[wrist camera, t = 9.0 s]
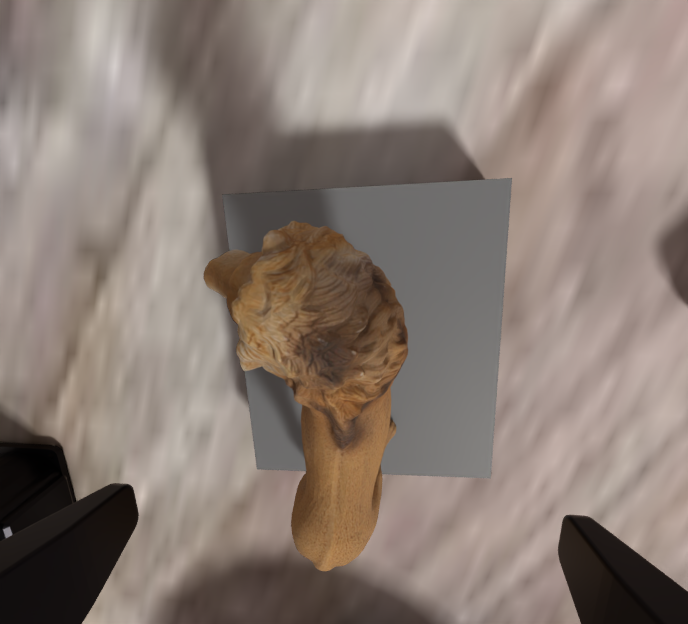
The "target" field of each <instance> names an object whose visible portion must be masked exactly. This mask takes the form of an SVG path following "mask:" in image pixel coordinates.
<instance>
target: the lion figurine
mask: <svg viewBox="0 0 688 624" xmlns="http://www.w3.org/2000/svg"><path fill="white" fill-rule="evenodd" d="M204 280H205V282H206V284H207V286H208V287H209V288H210V289H212V290H214V291H216V292H218V293H219V294H221V295H222V296H223V297H225V298H227V306H228V309H229V311H230V315H231V317H232V319H233V320H234V321H235V322H236V323H237V324H238V336H239V337H240V339H239V341H238V344H237V347H236V353H237V355H238V357H239V358H240V365H241V367H242V369H243V371H248V370H252V369H255V368H258V367H261V366H262V367H263V368H264V369H265V370H266V371H268V372H270V373H272V374H274V375H276V376H278V377H280V378H283V379H284V380H285V382H286V385H288V386H289V387H290V388H291V389H292V390H293V393H294V400H295V401H296V402H298V403H299V404H302V411H301V430H302V444H303V451H304V457H305V465H306V474H305V475H304V476H303V478H302V479H301V481H300V483H299V485H298V488H297V493H296V497H295V502H294V507H293V512H292V520H291V527H292V535H293V539H294V543H295V545H296V548H297V550H298V551H299V552H300V554H302V555H303V556H304V557H306V558H308V559H310V560H311V561H312V562H313V564H314V565H315V567H316V568H317V569H319V570H320V571H329V570H331V569H332V568H333V567H335V566H344V565H346V564H348V563H349V562H351V561H352V560H354V559H355V558H356V557H357V556H358V555H359V554H360V553H361V552H362V551H363V549H364V547H365V546H366V544H367V542H368V541H369V539H370V537H371V535H372V533H373V531H374V528H375V526H376V522H377V518H378V512H379V505H380V499H381V492H382V471H381V461H382V457H383V453H384V450H385V448H386V446H387V444H388V443H389V441H390V440H391V439H392V437H393V436H394V435H395V433H396V424H395V423H394V421H393V420H392V419H390V416H391V388H390V387H391V385H392V383H393V381H394V379H395V378H396V377H397V375H398V373H399V371H400V369H401V367H402V365H403V363H404V362H405V360H406V358H407V355H408V331H407V328H406V326H405V318H404V310H403V307H402V306H401V304H400V303H399V302H398V300H397V298H396V296H395V290H394V289H393V288H392V287H391V283H390V282H389V280H388V279H387V277H386V276H385V274H384V272H383V271H382V270H381V268H380V267H378V266H375V265H374V264H373V263H372V260H371V259H370V257H369V255H368V254H366V253H364V252H362V251H358V250H356V249H354V247H353V246H352V245H351V244H350V243H348V242H347V241H346V240H345V238H344V236H343V234H339V233H337V232H335V231H334V230H332V229H330V228H329V227H327V226H323V227H320V228H318V227H313V226H311V225H310V224H308V223H299V222H296V221H291V222H290V224H289V225H287V226H285V227H282V228H280V229H278V230H271V231H269V232H268V233H267V234H266V235H265V236H264V238H263V246H262V252H255V253H252V254H249V253H247V252H245V251H242V250H231V251H228V252H226V253H224V254H223V255H221V256H220V257H218V258H216V259H213V260H211V261H210V262H209V263H208V265H207V266H206V268H205V271H204Z"/></svg>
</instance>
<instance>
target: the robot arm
mask: <svg viewBox="0 0 688 624" xmlns="http://www.w3.org/2000/svg"><path fill="white" fill-rule="evenodd" d="M138 516H139V514H138V508H137V504H136V499H135V494H134V490H133V487H132V486H131V485H129V484H119V483H113V484H110V485H107V486H106V487H104V488H102V489H100V490H98V491H96V492H94V493H92V494H90V495H88V496H86V497H84V498H83V499H81V500H79V501H77V502H75V498H74V494H73V490H72V487H71V483H70V479H69V475H68V471H67V468H66V464H65V460H64V456H63V452H62V450H61V449H60V448H59V447H57V446H51V445H33V444H15V443H0V624H82V622H83V621H84V619H85V618H86V616H87V614H88V613H89V611H90V609H91V608H92V606H93V605H94V603H95V601H96V599H97V597H98V596H99V594H100V592H101V590H102V589H103V587H104V585H105V583H106V581H107V579H108V577H109V576H110V574H111V572H112V570H113V568H114V566H115V565H116V563H117V561H118V559H119V557H120V555H121V553H122V552H123V550H124V548H125V546H126V544H127V542H128V540H129V539H130V537H131V535H132V533H133V531H134V529H135V527H136V525H137V522H138ZM558 555H559V560H560V563H561V566H562V569H563V572H564V575H565V578H566V581H567V584H568V587H569V590H570V593H571V596H572V599H573V601H574V604H575V607H576V610H577V613H578V616H579V619H580V622H581V624H688V591H686V590H685V589H684V588H682V587H681V586H680V585H679V584H677V583H676V582H675V581H673V580H672V579H671V578H669V577H668V576H667V575H665V574H664V573H663V572H661V571H660V570H659V569H658V568H656V567H655V566H654V565H652V564H651V563H650V562H648V561H647V560H646V559H644V558H643V557H642V556H640V555H639V554H638V553H637V552H635V551H634V550H633V549H631V548H630V547H629V546H627V545H626V544H625V543H623V542H622V541H621V540H620V539H618V538H617V537H616V536H614V535H613V534H612V533H610V532H609V531H608V530H606V529H605V528H604V527H602V526H601V525H600V524H599V523H597V522H596V521H595V520H593V519H592V518H590V517H588V516H581V515H566V516H565V517H564V518H563V522H562V528H561V533H560V539H559V545H558Z"/></svg>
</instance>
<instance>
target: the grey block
mask: <svg viewBox="0 0 688 624" xmlns="http://www.w3.org/2000/svg"><path fill="white" fill-rule="evenodd" d="M511 184H512V178H504V179H487V180H469V181H452V182H434V183H417V184H399V185H382V186H364V187H346V188H329V189H311V190H294V191H276V192H259V193H241V194H224V195H222V197H223V205H224V213H225V221H226V229H227V236H228V244H229V251H231V250H242V251H245V252H247V253H249V254H252V253H255V252H262V246H263V238H264V236H265V235H266V234H267V233H268V232H269V231H271V230H278V229H280V228H282V227H285V226H287V225H289V224H290V222H291V221H296V222H299V223H308V224H310V225H311V226H313V227H318V228H320V227H323V226H327V227H329V228H330V229H332V230H334V231H335V232H337V233H339V234H343V236H344V238H345V240H346V241H347V242H348V243H350V244H351V245H352V246H353V247H354V249H356V250H358V251H362V252H364V253H366V254H368V255H369V257H370V259H371V260H372V263H373V264H374V265H375V266H378V267H380V268H381V270H382V271H383V272H384V274H385V276H386V277H387V279H388V280H389V282H390V283H391V287H392V288H393V289H394V290H395V296H396V298H397V300H398V302H399V303H400V304H401V306H402V307H403V310H404V318H405V326H406V328H407V331H408V355H407V358H406V360H405V362H404V363H403V365H402V367H401V369H400V371H399V373H398V375H397V377H396V378H395V379H394V381H393V383H392V385H391V387H390V388H391V416H390V419H392V420H393V421H394V423H395V424H396V433H395V435H394V436H393V437H392V439H391V440H390V441H389V443H388V444H387V446H386V448H385V450H384V453H383V457H382V461H381V471H382V474H391V475H417V476H442V477H468V478H491V467H492V453H493V439H494V425H495V411H496V397H497V382H498V368H499V354H500V340H501V326H502V312H503V298H504V283H505V269H506V255H507V241H508V227H509V213H510V199H511ZM245 378H246V386H247V394H248V402H249V410H250V418H251V426H252V433H253V441H254V449H255V457H256V465H257V469H263V470H289V471H306V465H305V457H304V451H303V444H302V430H301V411H302V404H299V403H298V402H296V401H295V400H294V393H293V390H292V389H291V388H290V387H289V386H288V385H286V382H285V380H284V379H283V378H280V377H278V376H276V375H274V374H272V373H270V372H268V371H266V370H265V369H264V368H263V367H262V366H261V367H258V368H255V369H252V370H248V371H245Z"/></svg>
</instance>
